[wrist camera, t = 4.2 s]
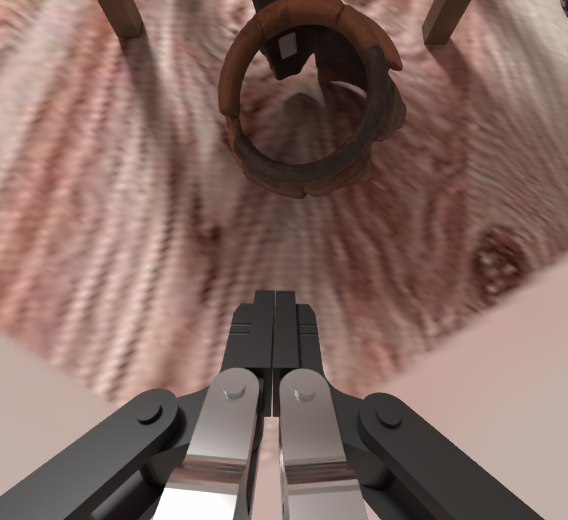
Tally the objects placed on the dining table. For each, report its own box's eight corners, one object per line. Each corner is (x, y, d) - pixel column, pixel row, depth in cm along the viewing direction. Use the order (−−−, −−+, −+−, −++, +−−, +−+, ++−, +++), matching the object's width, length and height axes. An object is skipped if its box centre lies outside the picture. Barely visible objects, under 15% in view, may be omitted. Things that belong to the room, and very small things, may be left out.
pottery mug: (422, 157, 18) (462, 123, 10) (294, 226, 21) (251, 239, 13) (337, -19, 18) (311, -195, 10) (219, 78, 21) (129, 3, 13)
